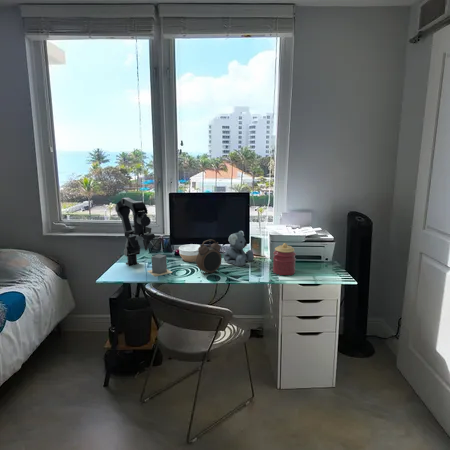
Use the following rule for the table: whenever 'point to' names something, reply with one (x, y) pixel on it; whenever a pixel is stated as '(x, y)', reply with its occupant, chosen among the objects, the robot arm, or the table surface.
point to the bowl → (189, 252)
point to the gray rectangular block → (159, 264)
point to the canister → (284, 260)
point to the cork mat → (159, 274)
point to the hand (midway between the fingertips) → (140, 249)
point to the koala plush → (238, 250)
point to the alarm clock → (209, 257)
